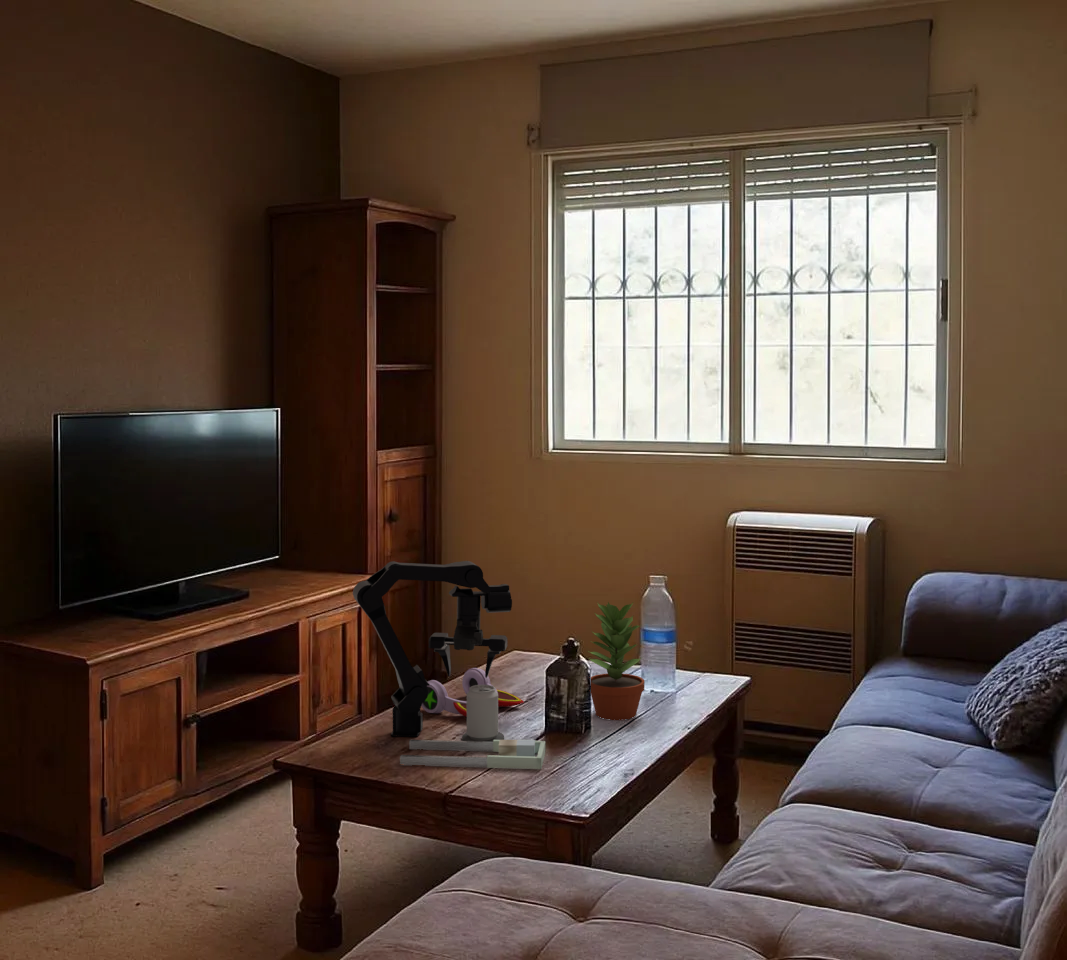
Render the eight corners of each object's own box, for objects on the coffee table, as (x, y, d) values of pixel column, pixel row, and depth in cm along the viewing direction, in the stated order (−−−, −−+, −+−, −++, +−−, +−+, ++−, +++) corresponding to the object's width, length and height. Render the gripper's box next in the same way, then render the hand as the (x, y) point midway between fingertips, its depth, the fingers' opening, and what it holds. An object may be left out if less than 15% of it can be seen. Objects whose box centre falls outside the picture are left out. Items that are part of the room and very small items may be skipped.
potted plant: (648, 707, 307) (649, 593, 304) (640, 724, 292) (641, 605, 290) (591, 704, 310) (592, 591, 308) (581, 720, 296) (581, 602, 293)
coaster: (459, 745, 277) (459, 742, 277) (465, 731, 287) (465, 729, 287) (501, 746, 276) (501, 743, 276) (506, 733, 286) (506, 730, 286)
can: (473, 743, 276) (473, 693, 275) (462, 734, 283) (461, 685, 282) (503, 739, 279) (503, 689, 278) (491, 730, 286) (490, 681, 285)
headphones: (467, 666, 320) (523, 668, 307) (470, 702, 320) (527, 706, 307) (415, 681, 304) (473, 684, 292) (419, 719, 305) (476, 724, 292)
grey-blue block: (516, 762, 265) (516, 745, 265) (517, 756, 269) (517, 739, 269) (534, 762, 265) (534, 745, 264) (535, 756, 269) (534, 739, 268)
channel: (400, 765, 263) (399, 756, 263) (410, 747, 275) (410, 739, 275) (487, 767, 261) (487, 758, 261) (493, 750, 273) (493, 741, 273)
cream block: (498, 762, 265) (498, 745, 265) (499, 756, 269) (499, 739, 268) (516, 762, 265) (516, 745, 264) (517, 757, 269) (517, 739, 268)
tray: (487, 767, 261) (487, 756, 261) (493, 750, 273) (493, 739, 273) (541, 769, 260) (541, 758, 260) (545, 751, 272) (545, 741, 272)
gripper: (424, 618, 281) (423, 683, 282) (502, 621, 279) (501, 686, 280) (433, 609, 292) (432, 671, 293) (508, 612, 290) (507, 675, 291)
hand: (467, 676), depth 289 cm, fingers open, 9 cm apart
